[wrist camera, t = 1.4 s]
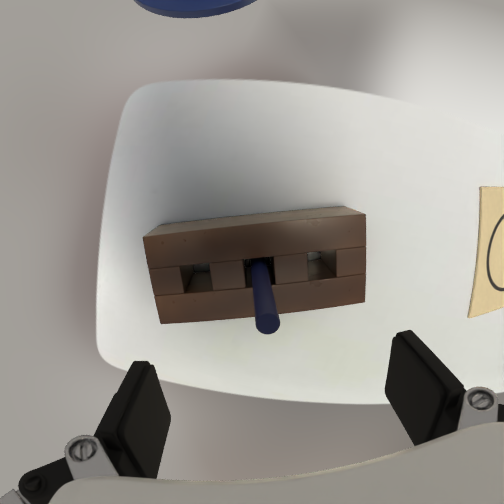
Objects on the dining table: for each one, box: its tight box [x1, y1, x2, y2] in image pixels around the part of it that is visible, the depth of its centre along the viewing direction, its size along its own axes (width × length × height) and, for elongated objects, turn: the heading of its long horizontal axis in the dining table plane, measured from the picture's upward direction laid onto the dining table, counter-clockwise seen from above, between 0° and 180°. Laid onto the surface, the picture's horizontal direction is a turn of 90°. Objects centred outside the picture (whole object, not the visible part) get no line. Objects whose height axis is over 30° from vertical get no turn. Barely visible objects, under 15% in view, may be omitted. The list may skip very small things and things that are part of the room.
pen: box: [250, 257, 280, 334], centre depth 21 cm, size 1×1×13 cm
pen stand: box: [143, 206, 366, 324], centre depth 25 cm, size 7×17×5 cm, turn 96°
